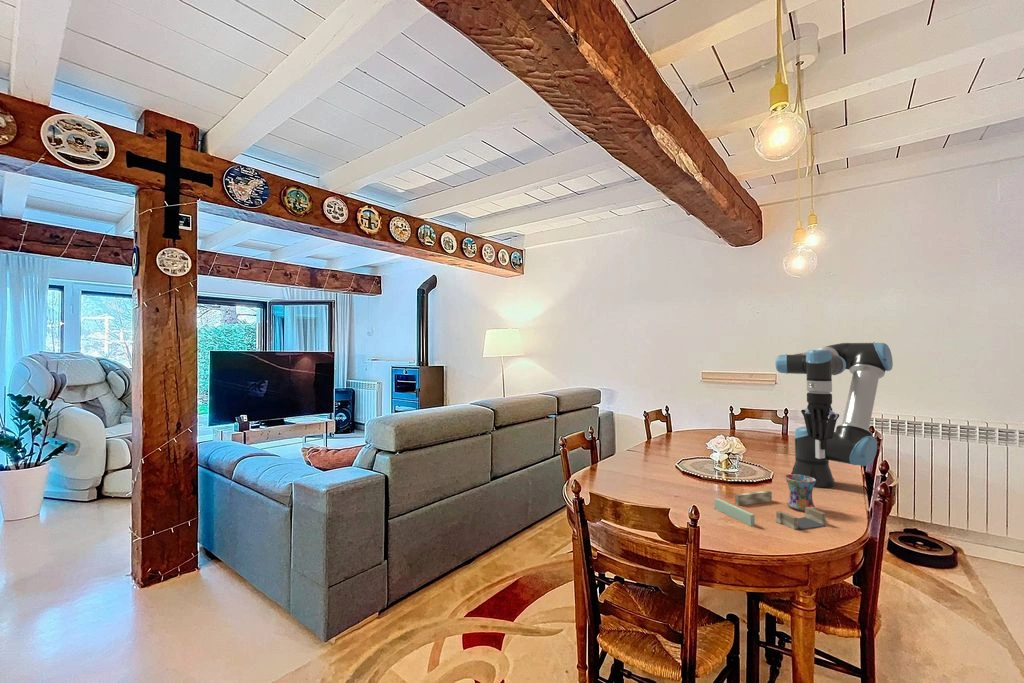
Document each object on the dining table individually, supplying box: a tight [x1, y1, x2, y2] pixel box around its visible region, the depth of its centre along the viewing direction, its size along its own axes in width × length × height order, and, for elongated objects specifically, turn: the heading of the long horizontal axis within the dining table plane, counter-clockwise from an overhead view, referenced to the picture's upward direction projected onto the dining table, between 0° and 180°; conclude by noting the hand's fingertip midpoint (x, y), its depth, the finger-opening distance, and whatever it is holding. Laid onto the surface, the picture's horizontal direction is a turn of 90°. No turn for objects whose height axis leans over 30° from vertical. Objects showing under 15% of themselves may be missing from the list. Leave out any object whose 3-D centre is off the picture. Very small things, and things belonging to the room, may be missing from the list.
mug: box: [784, 473, 816, 512], centre depth 156 cm, size 12×9×11 cm
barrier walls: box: [734, 489, 827, 530], centre depth 151 cm, size 15×24×4 cm, turn 16°
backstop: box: [714, 497, 756, 527], centre depth 148 cm, size 2×16×4 cm, turn 16°
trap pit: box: [797, 516, 826, 531], centre depth 142 cm, size 10×7×1 cm
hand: (820, 457), depth 159 cm, fingers closed
